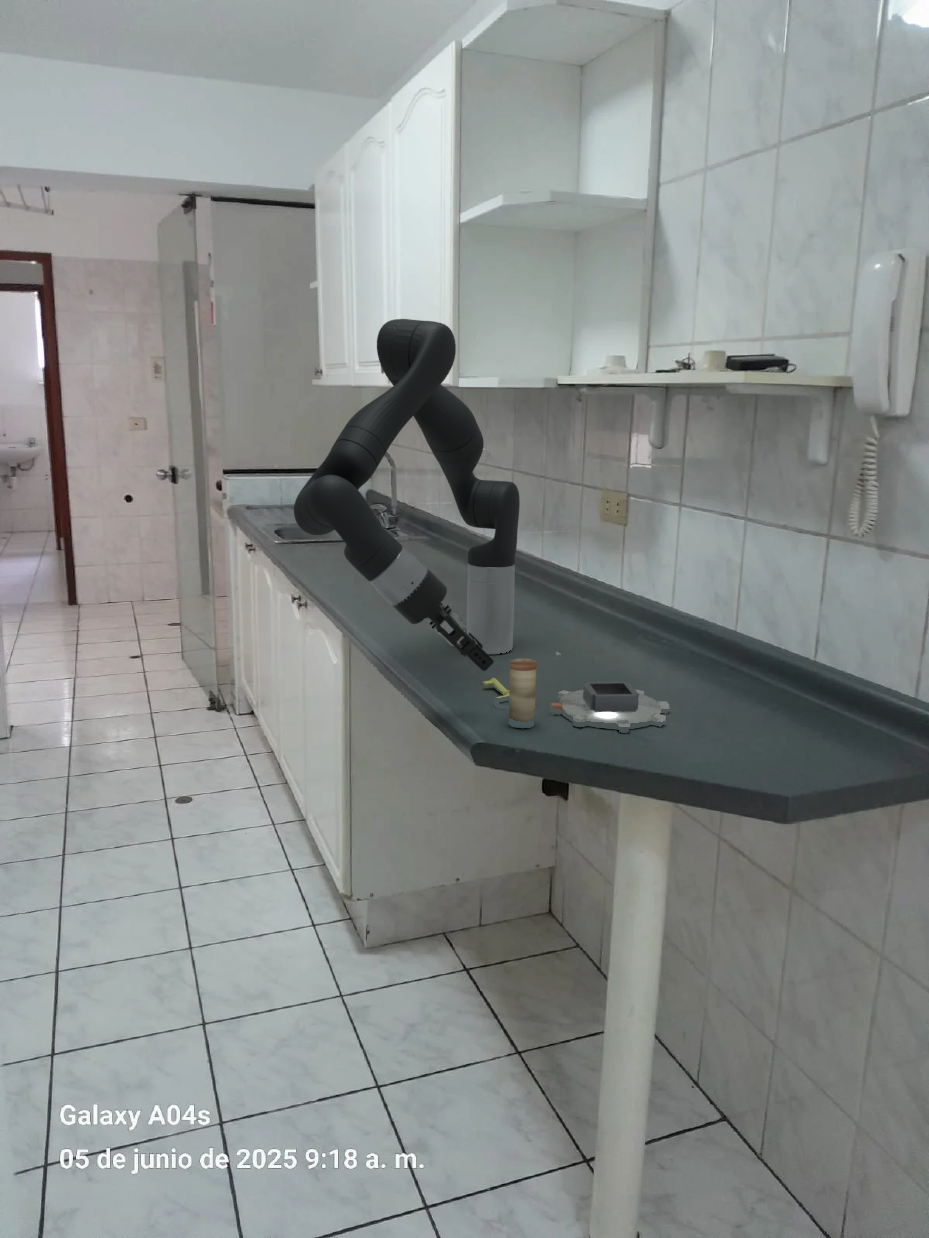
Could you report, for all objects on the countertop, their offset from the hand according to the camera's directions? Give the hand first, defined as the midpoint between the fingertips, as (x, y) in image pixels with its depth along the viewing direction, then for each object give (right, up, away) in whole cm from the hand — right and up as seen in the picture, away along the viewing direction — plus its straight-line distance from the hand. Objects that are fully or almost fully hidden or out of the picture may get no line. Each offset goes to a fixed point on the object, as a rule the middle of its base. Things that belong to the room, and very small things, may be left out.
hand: (483, 658), depth 142 cm
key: (+4, -8, +16) cm, 18 cm away
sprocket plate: (+20, -9, +10) cm, 24 cm away
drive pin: (+6, -10, +3) cm, 12 cm away
